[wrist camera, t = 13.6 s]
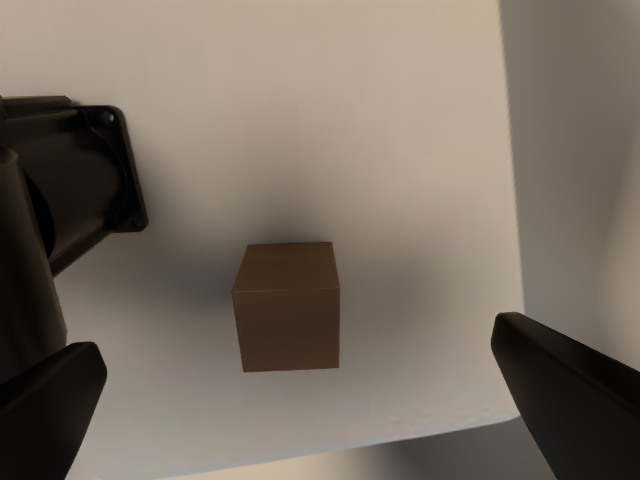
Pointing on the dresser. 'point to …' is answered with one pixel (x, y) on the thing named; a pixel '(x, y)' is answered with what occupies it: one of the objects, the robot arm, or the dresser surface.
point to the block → (288, 307)
